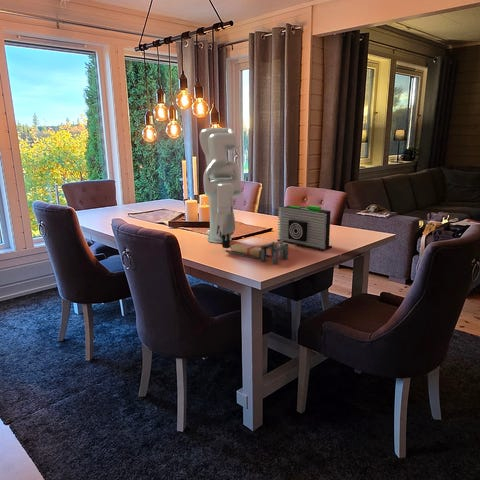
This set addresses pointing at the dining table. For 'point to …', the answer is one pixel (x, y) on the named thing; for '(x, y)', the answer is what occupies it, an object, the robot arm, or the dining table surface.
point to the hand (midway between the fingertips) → (226, 247)
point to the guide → (246, 255)
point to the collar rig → (275, 251)
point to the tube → (246, 250)
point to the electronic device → (305, 226)
